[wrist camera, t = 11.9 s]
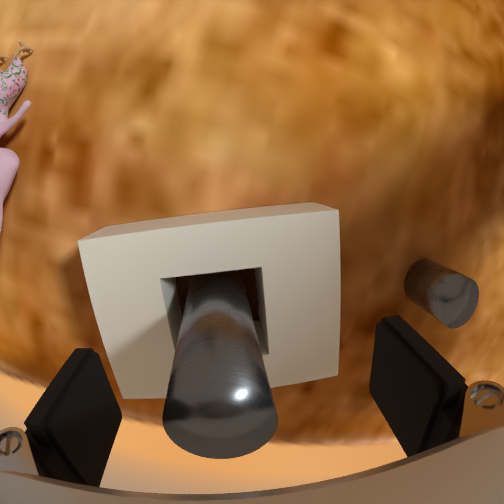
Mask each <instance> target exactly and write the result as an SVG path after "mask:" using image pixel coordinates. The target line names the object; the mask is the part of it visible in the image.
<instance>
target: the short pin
mask: <svg viewBox="0 0 504 504" xmlns="http://www.w3.org/2000/svg"><path fill="white" fill-rule="evenodd" d="M404 288H405V293H406V295H407V297H408V298H409V299H410V300H411V301H413V302H414V303H416V304H417V305H418V306H420V307H421V308H422V309H424V310H425V311H427V312H428V313H429V314H431V315H432V316H434V317H435V318H436V319H438V320H439V321H440V322H442V323H443V324H444V325H446V326H447V327H449V328H458V327H460V326H462V325H463V324H464V323H466V322H467V321H468V320H469V318H470V317H471V316H472V314H473V312H474V311H475V308H476V306H477V303H478V297H479V290H478V286H477V284H476V282H475V281H474V280H472V279H470V278H468V277H466V276H464V275H462V274H460V273H458V272H456V271H454V270H452V269H450V268H448V267H445V266H443V265H441V264H439V263H437V262H435V261H433V260H430V259H422V260H419V261H417V262H416V263H415V264H414V265H413V266H412V267H411V268H410V270H409V271H408V273H407V275H406V278H405V284H404Z"/></svg>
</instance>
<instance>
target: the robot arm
mask: <svg viewBox="0 0 504 504" xmlns="http://www.w3.org/2000/svg"><path fill="white" fill-rule="evenodd" d="M464 382H465V378H464V377H463V376H462V375H461V374H460V373H459V372H458V371H457V370H456V369H455V368H454V367H453V366H452V365H450V364H449V363H448V362H447V361H446V360H445V359H444V358H443V357H442V356H441V355H440V354H439V353H438V352H437V351H436V350H435V349H434V348H433V347H432V346H431V345H430V344H429V343H428V342H427V341H426V340H425V339H424V338H423V337H422V336H420V335H419V334H418V333H417V332H416V331H415V330H414V329H413V328H412V327H411V326H410V325H409V324H408V323H407V322H406V321H405V320H403V319H402V318H401V317H400V316H399V315H394V316H389V317H384V318H382V319H381V321H380V323H378V324H377V325H376V332H375V343H374V352H373V361H372V369H371V376H370V384H369V389H370V393H371V395H372V397H373V399H374V400H375V402H376V404H377V405H378V407H379V409H380V411H381V412H382V414H383V416H384V417H385V419H386V421H387V422H388V424H389V426H390V427H391V429H392V431H393V433H394V434H395V436H396V438H397V439H398V441H399V443H400V445H401V446H402V448H403V450H404V452H405V453H406V455H407V458H404V459H401V460H398V461H395V462H392V463H389V464H386V465H383V466H379V467H377V468H373V469H369V470H366V471H363V472H359V473H355V474H351V475H347V476H343V477H339V478H334V479H330V480H326V481H321V482H316V483H310V484H305V485H299V486H293V487H286V488H279V489H272V490H263V491H254V492H242V493H227V494H192V495H191V494H158V493H142V492H132V491H122V490H114V489H107V488H100V487H99V486H100V483H101V479H102V476H103V473H104V470H105V467H106V464H107V461H108V458H109V455H110V452H111V449H112V446H113V443H114V440H115V437H116V434H117V431H118V428H119V426H120V423H121V420H122V413H121V410H120V408H119V405H118V403H117V401H116V398H115V396H114V393H113V391H112V388H111V386H110V383H109V381H108V378H107V376H106V373H105V370H104V368H103V365H102V362H101V360H100V357H99V355H98V353H96V352H94V351H93V349H91V348H77V349H75V350H74V352H73V353H72V354H71V356H70V357H69V358H68V360H67V361H66V362H65V364H64V365H63V366H62V368H61V369H60V371H59V372H58V373H57V375H56V376H55V378H54V379H53V380H52V382H51V383H50V385H49V386H48V388H47V389H46V390H45V392H44V393H43V395H42V396H41V398H40V399H39V401H38V402H37V404H36V405H35V407H34V408H33V410H32V411H31V413H30V414H29V416H28V417H27V419H26V420H25V422H24V424H25V425H26V427H27V430H26V431H25V432H24V431H23V430H22V429H19V428H16V427H10V428H6V429H4V430H1V431H0V504H504V387H502V386H501V385H500V384H498V383H495V382H492V381H478V382H475V383H473V384H471V385H470V386H469V387H468V386H467V385H466V384H465V383H464Z"/></svg>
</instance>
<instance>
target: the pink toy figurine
mask: <svg viewBox="0 0 504 504" xmlns="http://www.w3.org/2000/svg"><path fill="white" fill-rule="evenodd" d="M19 44H20V46H21V48H19V50H18V51H17V52H15V53H14V55H13V60H12V62H11V64H10V65H9V67H8V69H7V70H6V71H5V72H3V71H1V70H0V138H1V136H2V135H3V134H5V133H6V132H7V131H9V130H10V129H11V128H12V127H13V126H14V125H15V124H16V123H17V122H18V121H19V120H20V119H21V117H22V116H23V115H24V114H25V113H26V111H27V110H28V109H29V108H30V106H31V101H29V100H26V101H25V102H24V103H23V104H22V105H21V107H20V109H19V110H18V112H17V113H16V114H15V115H14V116H12V117H11V118H9V119H8V112H9V109H10V107H11V106H12V104H13V103H14V101H15V100H16V98H17V97H18V96H19V94H20V93H21V91H22V90H23V88H24V87H25V85H26V82H27V70H26V68H25V66H24V65H23V63H22V61H21V59H20V57H19V54H20V52H21V51H23V53H24V52H27V53H29V54H30V53H32V52H29V51H30V50H31V51H33V50H34V48H33V49H31V47H30V46H27V45H26V44H24V43H23V44H21V41H20V40H19ZM8 57H9V56H7V57H5V55H2V54H0V60H1V61H3V62H5V60H4V58H8ZM19 164H20V161H19V158H18V156H17V154H16V153H15V152H14V151H12V150H10V149H5V148H0V234H1V227H2V220H3V202H4V199H5V197H6V196H7V194H8V192H9V190H10V188H11V185H12V183H13V180H14V177H15V175H16V173H17V170H18V168H19Z"/></svg>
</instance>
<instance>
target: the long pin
mask: <svg viewBox="0 0 504 504" xmlns="http://www.w3.org/2000/svg"><path fill="white" fill-rule="evenodd" d="M277 424H278V417H277V412H276V408H275V404H274V400H273V396H272V392H271V389H270V385H269V381H268V377H267V373H266V369H265V365H264V361H263V358H262V354H261V350H260V346H259V342H258V338H257V334H256V330H255V326H254V322H253V318H252V314H251V310H250V306H249V302H248V298H247V294H246V290H245V286H244V282H243V279H242V277H241V275H240V274H239V273H238V272H237V271H236V270H231V271H223V272H214V273H205V274H196V275H193V277H192V279H191V282H190V286H189V291H188V295H187V299H186V304H185V308H184V312H183V317H182V321H181V326H180V331H179V335H178V340H177V345H176V349H175V354H174V359H173V364H172V369H171V374H170V379H169V384H168V390H167V395H166V400H165V406H164V411H163V426H164V429H165V431H166V433H167V435H168V436H169V437H170V439H171V440H172V441H173V442H174V443H175V444H177V445H178V446H179V447H181V448H182V449H184V450H186V451H188V452H190V453H192V454H195V455H198V456H201V457H206V458H214V459H228V458H235V457H240V456H243V455H246V454H249V453H251V452H253V451H256V450H257V449H259V448H260V447H262V446H263V445H265V444H266V443H267V442H268V441H269V440H270V439H271V437H272V436H273V434H274V433H275V430H276V428H277Z"/></svg>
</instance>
